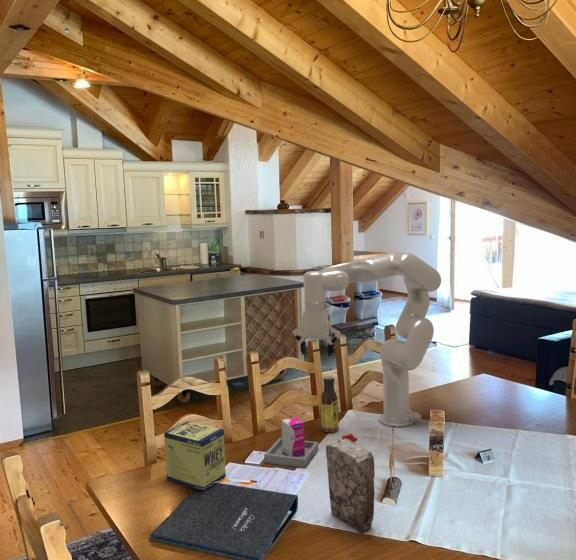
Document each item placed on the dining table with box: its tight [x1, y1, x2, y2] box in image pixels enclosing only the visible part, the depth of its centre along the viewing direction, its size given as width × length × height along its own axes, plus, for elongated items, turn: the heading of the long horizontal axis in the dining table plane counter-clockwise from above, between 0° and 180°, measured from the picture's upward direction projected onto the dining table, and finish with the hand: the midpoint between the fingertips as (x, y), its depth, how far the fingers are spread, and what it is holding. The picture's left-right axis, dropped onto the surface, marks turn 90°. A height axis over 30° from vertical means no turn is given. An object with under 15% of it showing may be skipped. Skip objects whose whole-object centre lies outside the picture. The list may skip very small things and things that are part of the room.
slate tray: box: [263, 437, 319, 469], centre depth 183 cm, size 14×14×3 cm
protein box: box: [163, 421, 227, 489], centre depth 169 cm, size 10×16×16 cm
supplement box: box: [281, 416, 306, 457], centre depth 182 cm, size 6×6×12 cm
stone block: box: [325, 439, 376, 534], centre depth 142 cm, size 13×7×20 cm, turn 39°
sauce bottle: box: [320, 375, 339, 433], centre depth 203 cm, size 6×6×20 cm
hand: (316, 354), depth 195 cm, fingers open, 9 cm apart
